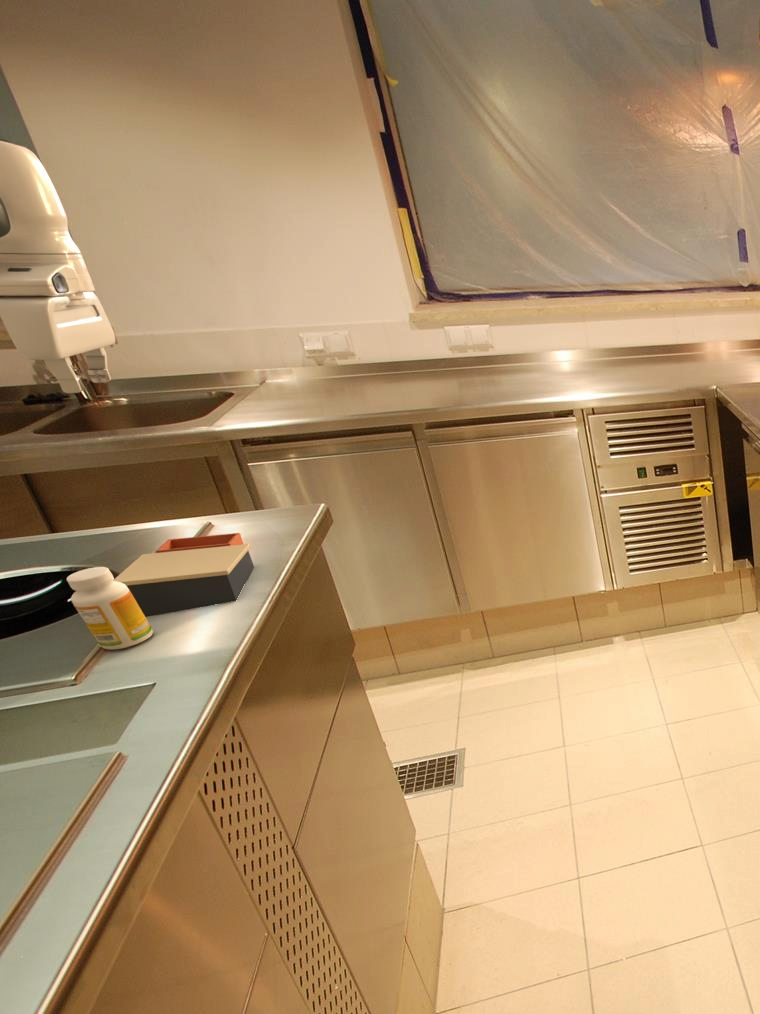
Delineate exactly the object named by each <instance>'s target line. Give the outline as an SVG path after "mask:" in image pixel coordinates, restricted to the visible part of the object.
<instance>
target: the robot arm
mask: <svg viewBox="0 0 760 1014" xmlns="http://www.w3.org/2000/svg"><path fill="white" fill-rule="evenodd" d="M68 223H69V222H68V216H67V213H66V210H65V208H64V206H63V203H62V201H61V198H60V196H59V194H58V191H57V189H56V188H55V185H54V182H53V181H52V179H51V177H50V175H49V173H48V172H47V170H46V168H45V166H44V165H43V163H42V161H41V160H40V159H39V157H38V156H37V155H36V154H35V153H34V152H33V151H32V150H31V149H30V148H27V147H26V146H25V145H22V144H21V143H18V142H15V141H13V140H10V139H6V138H3V137H0V319H1V321H2V323H3V325H4V328H5V329H6V332H7V333H8V335H9V338H10V339H11V341H12V343H13V345H14V346H15V348H16V350H17V351H18V352H19V353H20V354H21V355H22V357H24V358H25V359H26V360H27V361H28V360H29V361H43V362H44V364H45V366H46V368H47V369H48V371H49V372H50V373H51V374H52V375H53V376H54V378H55V379H56V380H57V381H58V383H59V386H60V388H61V390H62V392H64V394H65V393H66V394H78V393H81V392H84V390H85V386H84V384H83V381H82V379H81V377H78V376H77V374H76V373H75V371H74V369H73V367H72V366H73V363H72V361H71V358H70V357H73V356H76V355H80V354H82V356H83V357H85V360H86V364H87V368H88V369H86V372H87V374H88V376H89V379H90V381H91V382H92V383H95V384H103V383H108V382H110V381H111V380H112V377H111V374H110V372H109V368H108V355H107V352H106V350H105V347H109V346H113V345H115V344H116V334H115V332H114V329H113V327H112V325H111V322H110V320H109V317H108V316H107V314H106V312H105V308H104V307H103V305H102V302H101V301H100V299H99V297H98V296H97V294H96V293H95V292H96V288H95V285H94V283H93V279H92V277H91V276H90V275H91V274H90V272H89V270H88V267H87V265H86V262H85V259H84V257H83V254H82V252H81V250H80V248H79V247H78V245H77V243H75V241H74V240H73V238H72V236H71V234H70V231H69V227H68V226H69V225H68Z"/></svg>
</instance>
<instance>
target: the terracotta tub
mask: <svg viewBox="0 0 760 1014" xmlns="http://www.w3.org/2000/svg"><path fill="white" fill-rule="evenodd" d="M233 545H244V541H243V538H242V535H241V532H234V533H233V532H232V533H223V534H212V535H202V536H201V535H200V536H191V537H181V538H169V539H167V540H166V541H165V542H164V543H163V544H162V545H161V546H159V547H158V548H157V549H156V550H155V553H161V552H172V551H182V550H192V549H203V548H213V547H223V546H233Z"/></svg>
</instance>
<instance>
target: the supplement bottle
mask: <svg viewBox="0 0 760 1014" xmlns="http://www.w3.org/2000/svg"><path fill="white" fill-rule="evenodd" d="M114 579H115V578H114V575H113V573H112V572H111V570H110V569H109V568H108V567H106V566H94V567H90V568H89V567H88V568H84V569H81V570H78V571H75V572H73V573H71V574H70V575H68V576H67V577H66V582H67V583H68V585H69V587H70V588H71V590H73V591H74V592H73V594H72V595H71V596H70V601H71V603H72V605H73V607H74V608H75V609H76V611H77V612H78V614H79V616H80V618H81V619H82V621H83V623H85V625H86V626H87V628H88V629H89V631H90V633H91V635H92V636H93V637H94V639H95V640H96V642H97V644H98V645H99V647H100V648H102V649H104V650H105V649H106V650H121V649H125V648H130V647H133V646H135V645H138V644H140V643H142V642H144V641H146V640H147V639H149V638H151V636H152V635H153V633H154V630H153V628H152V625H151V623H150V622H149V620H148V619H147V617H145V616H144V614H143V612H142V610H141V609H140V607H139V605H138V604H137V602H136V600H135V598H134V597H133V595H132V594H131V592H130V590H129V589H128V587H127V586H126V585H125V584H123V583H121V582H116V581H113V580H114Z"/></svg>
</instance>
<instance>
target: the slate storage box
mask: <svg viewBox="0 0 760 1014" xmlns="http://www.w3.org/2000/svg"><path fill="white" fill-rule="evenodd" d="M250 549H251V545H250V544H249V543H243V545H233V546H223V547H213V548H203V549H192V550H182V551H172V552H161V553H156V552H153V553H151V552H150V553H142V554H141V555H140V556H139V557H138V558H136V559H135V560H134V561H133V562H132V563H131V564H130V565H128V567H126V568H125V569H124V570H123V571H122V572H120V574H119V575H117V576H116V577H115V578H114V580H113V581H116V582H121V583H123V584H125V585H126V586H127V587H128V589H129V590H130V592H131V594H132V595H133V597H134V598H135V600H136V602H137V604H138V605H139V607H140V609H141V610H142V612H143V614H144V616H145V617H146V618H149V617H155V616H159V615H160V616H161V615H166V614H172V613H176V612H177V613H178V612H183V611H189V610H194V609H199V608H200V607H201V608H206V607H211V605H212V606H216V605H215V604H218V605H223V604H229V603H232V602H231V601H235V602H237V601H238V599H239V597H240V596H239V594H240V592H241V590H242V588H243V586H244V584H245V583H246V584H247V582H248V581H249V578H250V576H251V575H250V574H252V573H253V570H254V569H255V565H254V562H253V560H252V557H251V554H250ZM246 581H247V582H246ZM246 584H245V585H246ZM244 587H245V586H244ZM243 589H244V588H243ZM242 591H243V590H242ZM241 593H242V592H241ZM240 595H241V594H240ZM238 596H239V597H238ZM237 598H238V599H237ZM236 600H237V601H236ZM228 602H229V603H228ZM201 608H200V609H201Z"/></svg>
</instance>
